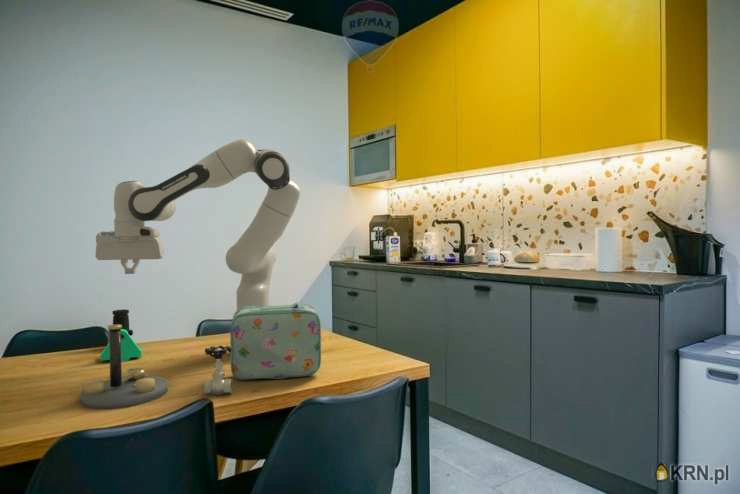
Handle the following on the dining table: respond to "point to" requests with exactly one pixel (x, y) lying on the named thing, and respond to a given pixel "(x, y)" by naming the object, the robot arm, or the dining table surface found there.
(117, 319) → the scope
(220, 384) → the valve
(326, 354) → the dining table surface
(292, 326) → the lunch box
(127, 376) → the lever
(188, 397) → the dining table surface
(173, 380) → the dining table surface
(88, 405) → the plate
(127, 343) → the camera mount
